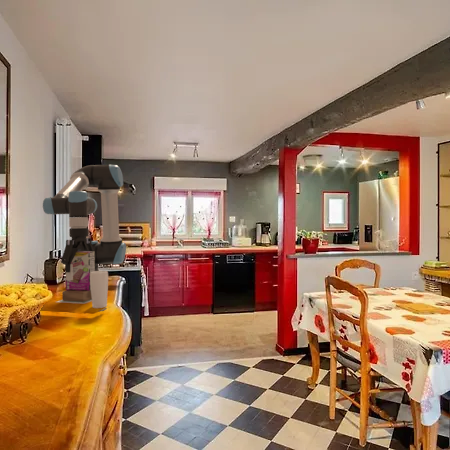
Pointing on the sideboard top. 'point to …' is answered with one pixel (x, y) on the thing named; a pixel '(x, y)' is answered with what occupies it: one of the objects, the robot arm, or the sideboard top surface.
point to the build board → (75, 302)
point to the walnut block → (76, 295)
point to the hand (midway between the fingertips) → (79, 277)
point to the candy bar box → (81, 271)
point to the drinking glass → (99, 288)
